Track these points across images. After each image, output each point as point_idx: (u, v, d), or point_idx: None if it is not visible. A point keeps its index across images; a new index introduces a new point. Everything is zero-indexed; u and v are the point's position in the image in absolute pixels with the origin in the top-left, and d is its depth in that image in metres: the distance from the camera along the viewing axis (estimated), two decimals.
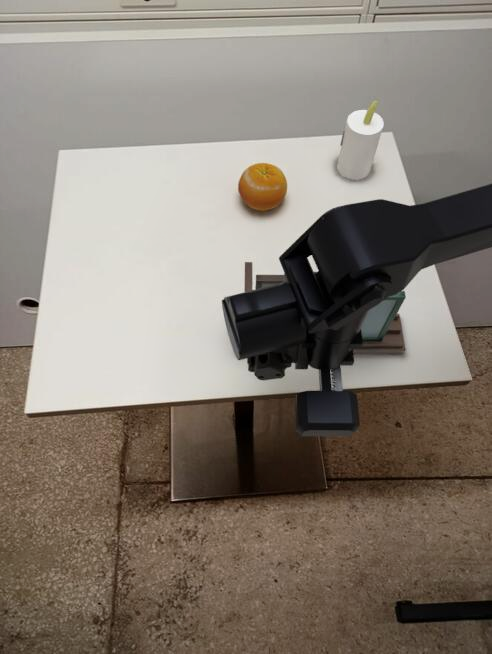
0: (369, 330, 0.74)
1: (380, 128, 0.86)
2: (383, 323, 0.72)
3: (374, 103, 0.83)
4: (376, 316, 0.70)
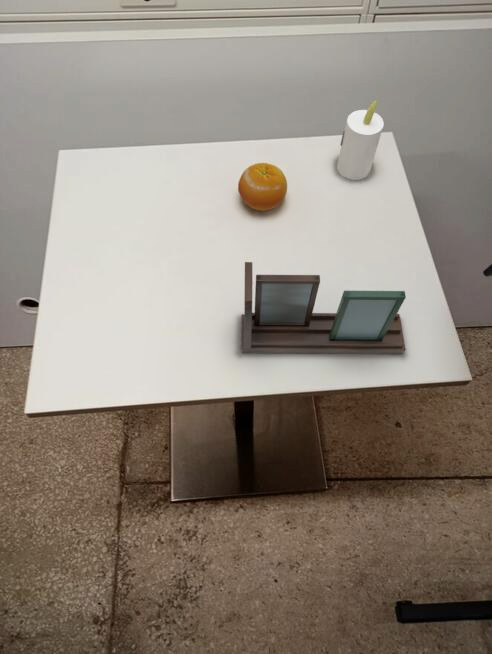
0: (369, 330, 0.74)
1: (380, 128, 0.86)
2: (383, 323, 0.72)
3: (374, 103, 0.83)
4: (376, 316, 0.70)
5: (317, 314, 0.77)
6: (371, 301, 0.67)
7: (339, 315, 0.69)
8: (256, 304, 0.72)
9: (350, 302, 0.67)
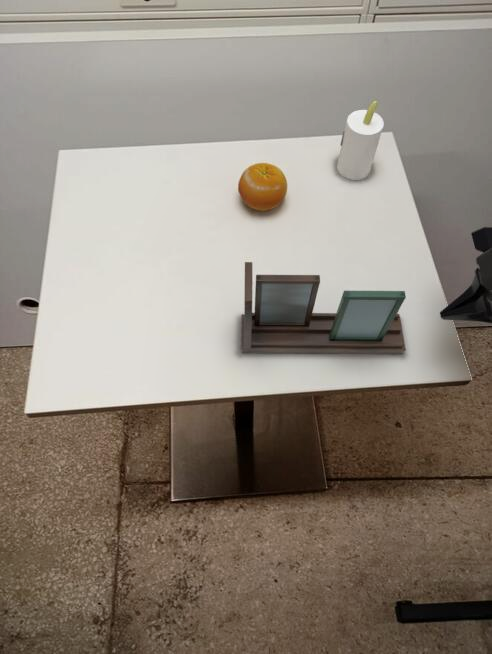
0: (369, 330, 0.74)
1: (380, 128, 0.86)
2: (383, 323, 0.72)
3: (374, 103, 0.83)
4: (376, 316, 0.70)
5: (317, 314, 0.77)
6: (371, 301, 0.67)
7: (339, 315, 0.69)
8: (256, 304, 0.72)
9: (350, 302, 0.67)
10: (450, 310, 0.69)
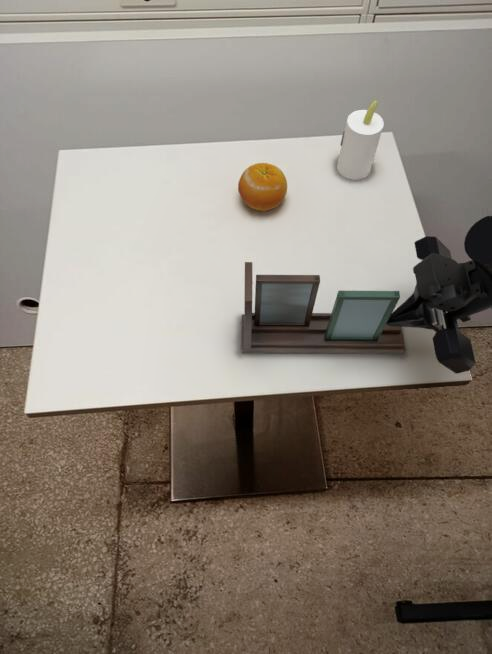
0: (364, 330, 0.74)
1: (380, 128, 0.86)
2: (378, 323, 0.72)
3: (374, 103, 0.83)
4: (371, 316, 0.70)
5: (317, 314, 0.77)
6: (366, 301, 0.67)
7: (334, 315, 0.69)
8: (256, 304, 0.72)
9: (345, 302, 0.67)
10: (394, 317, 0.71)
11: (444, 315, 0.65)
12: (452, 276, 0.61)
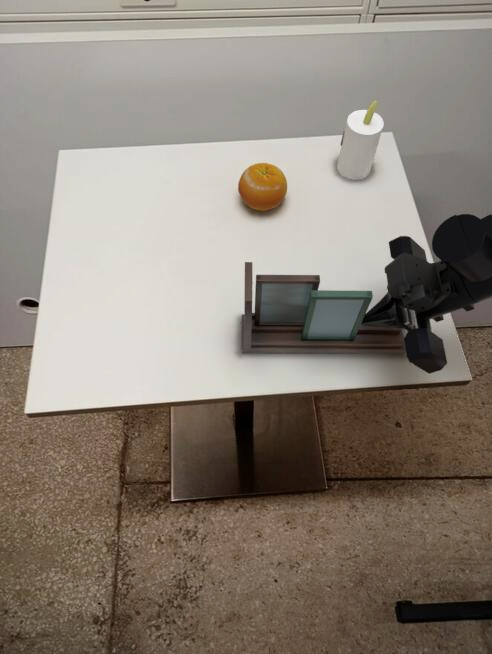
0: (340, 330, 0.74)
1: (380, 128, 0.86)
2: (353, 323, 0.72)
3: (374, 103, 0.83)
4: (345, 316, 0.70)
5: None
6: (339, 301, 0.67)
7: (308, 315, 0.69)
8: (256, 304, 0.72)
9: (318, 302, 0.67)
10: (369, 317, 0.71)
11: (417, 314, 0.65)
12: (422, 276, 0.61)
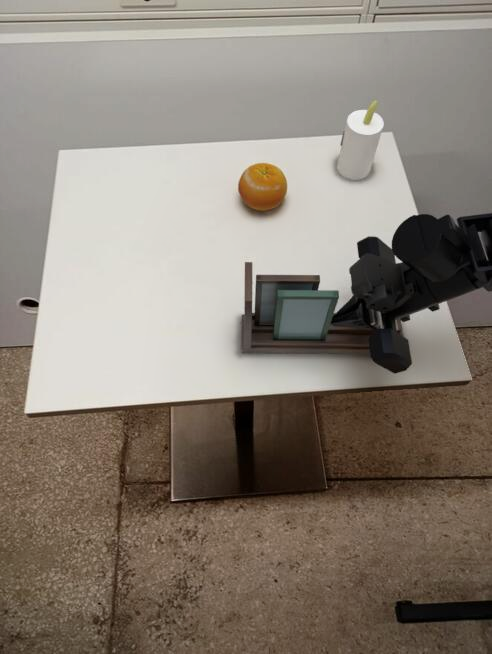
0: (310, 330, 0.74)
1: (380, 128, 0.86)
2: (323, 323, 0.72)
3: (374, 103, 0.83)
4: (314, 316, 0.70)
5: None
6: (306, 301, 0.67)
7: (276, 315, 0.69)
8: (256, 304, 0.72)
9: (285, 301, 0.67)
10: (338, 317, 0.71)
11: (382, 315, 0.65)
12: (386, 276, 0.61)
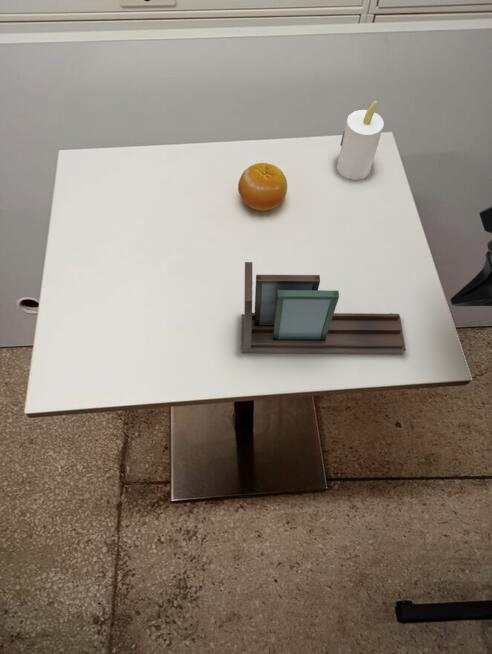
0: (310, 330, 0.74)
1: (380, 128, 0.86)
2: (323, 323, 0.72)
3: (374, 103, 0.83)
4: (314, 316, 0.70)
5: None
6: (306, 301, 0.67)
7: (276, 315, 0.69)
8: (256, 304, 0.72)
9: (285, 301, 0.67)
10: (461, 296, 0.65)
11: None
12: None
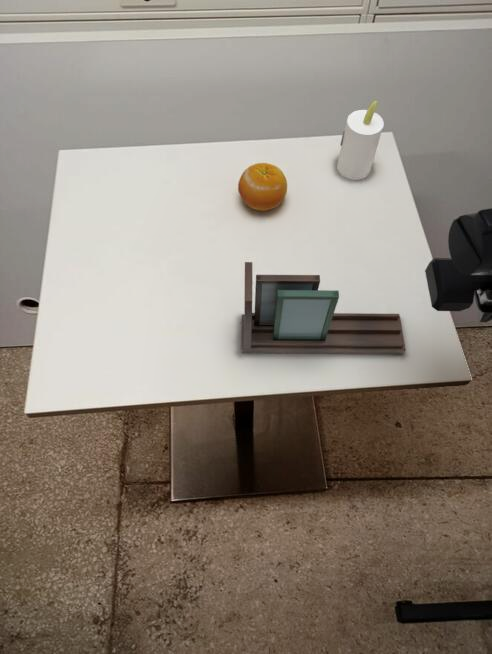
0: (310, 330, 0.74)
1: (380, 128, 0.86)
2: (323, 323, 0.72)
3: (374, 103, 0.83)
4: (314, 316, 0.70)
5: None
6: (306, 301, 0.67)
7: (276, 315, 0.69)
8: (256, 304, 0.72)
9: (285, 301, 0.67)
10: (489, 318, 0.63)
11: None
12: None
